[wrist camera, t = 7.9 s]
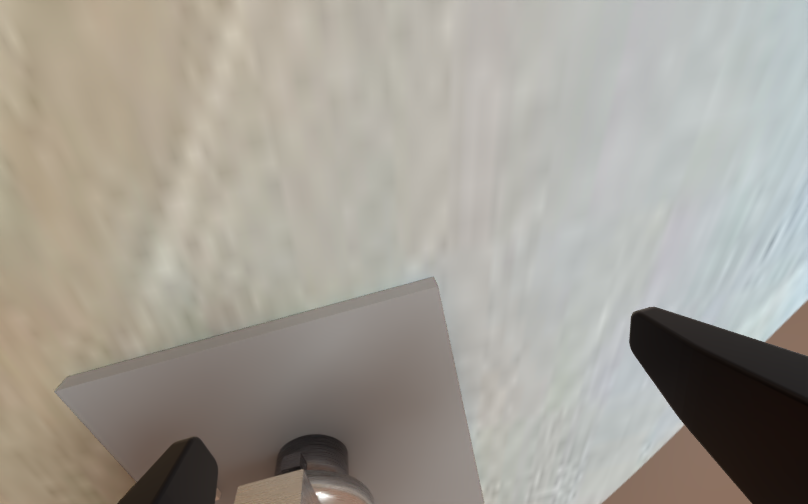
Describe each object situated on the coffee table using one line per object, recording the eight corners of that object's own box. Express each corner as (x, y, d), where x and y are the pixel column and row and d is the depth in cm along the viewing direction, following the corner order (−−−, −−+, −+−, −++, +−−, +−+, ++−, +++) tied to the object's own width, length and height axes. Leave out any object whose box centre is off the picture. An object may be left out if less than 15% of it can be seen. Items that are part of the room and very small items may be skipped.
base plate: (228, 564, 29) (223, 586, 28) (66, 377, 20) (48, 397, 19) (480, 490, 30) (486, 508, 29) (433, 276, 21) (439, 290, 20)
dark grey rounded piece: (296, 497, 25) (291, 548, 23) (259, 435, 23) (248, 485, 20) (360, 479, 26) (363, 527, 23) (331, 415, 23) (330, 461, 20)
